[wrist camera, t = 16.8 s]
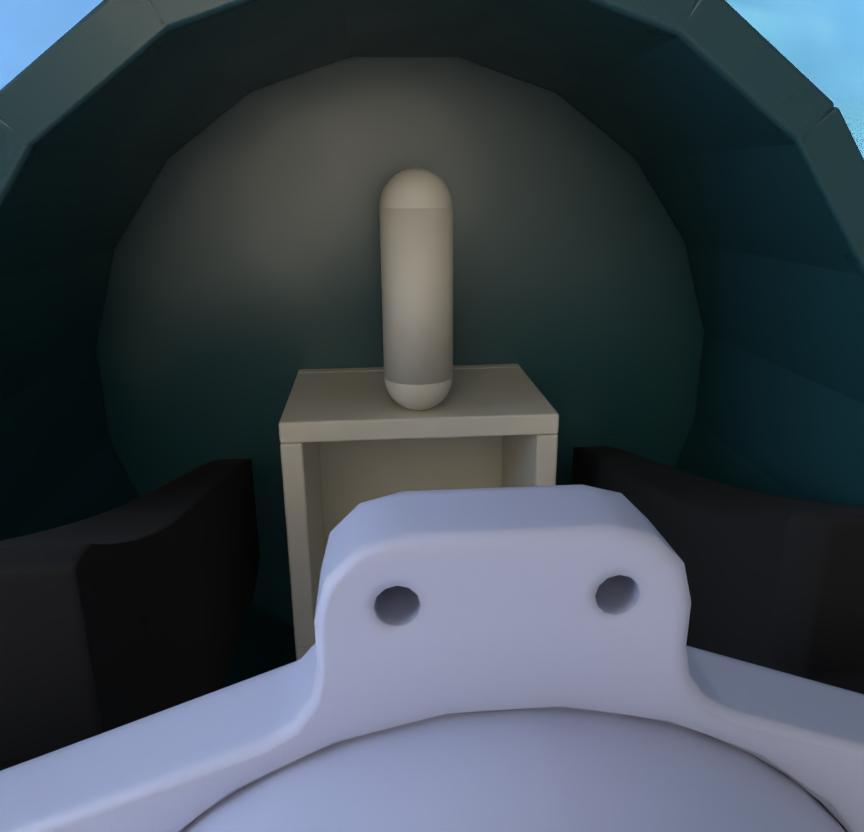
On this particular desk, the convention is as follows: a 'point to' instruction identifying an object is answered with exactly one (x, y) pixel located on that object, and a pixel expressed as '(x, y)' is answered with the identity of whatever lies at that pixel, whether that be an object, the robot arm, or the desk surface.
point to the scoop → (404, 402)
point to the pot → (472, 242)
